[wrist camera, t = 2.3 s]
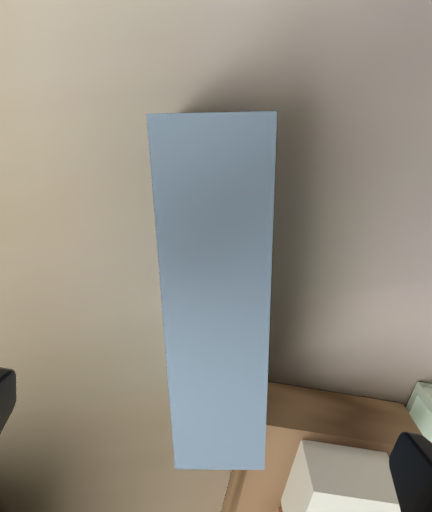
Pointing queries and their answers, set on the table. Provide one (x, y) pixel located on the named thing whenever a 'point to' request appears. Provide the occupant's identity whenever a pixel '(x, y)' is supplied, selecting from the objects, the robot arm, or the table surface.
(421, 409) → the tray
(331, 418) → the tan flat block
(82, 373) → the table surface
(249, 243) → the long blue block
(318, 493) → the tile
